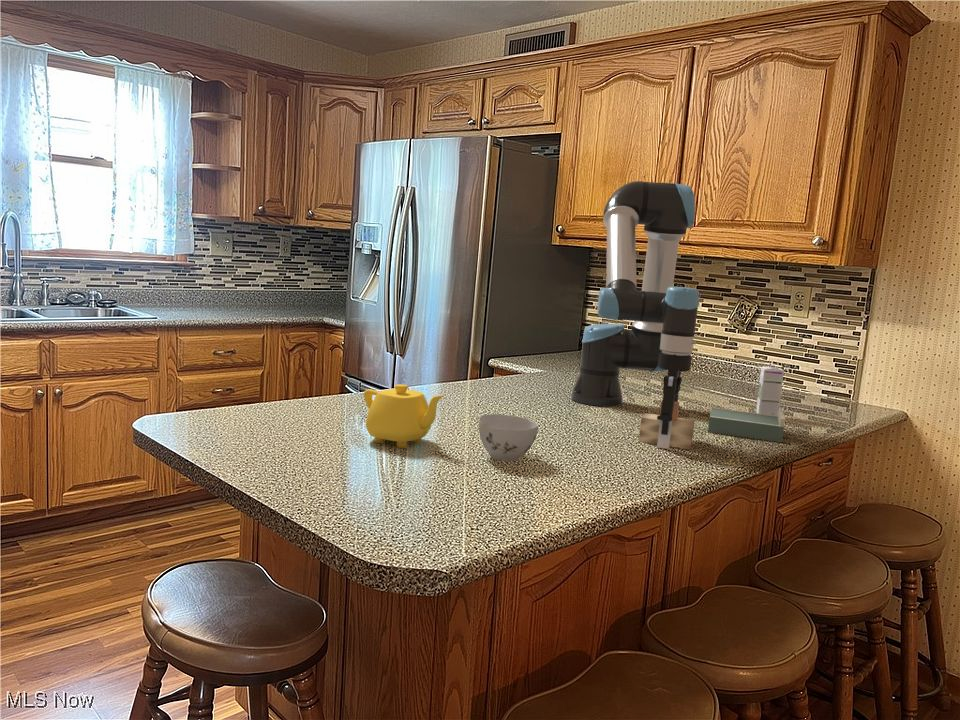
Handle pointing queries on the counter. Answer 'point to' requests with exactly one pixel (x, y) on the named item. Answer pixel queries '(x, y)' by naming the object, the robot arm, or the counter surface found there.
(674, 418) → the orange cube
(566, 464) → the counter surface
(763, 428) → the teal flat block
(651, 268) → the robot arm
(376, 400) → the teapot
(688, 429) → the tan rectangular block
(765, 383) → the syrup box
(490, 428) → the teacup
